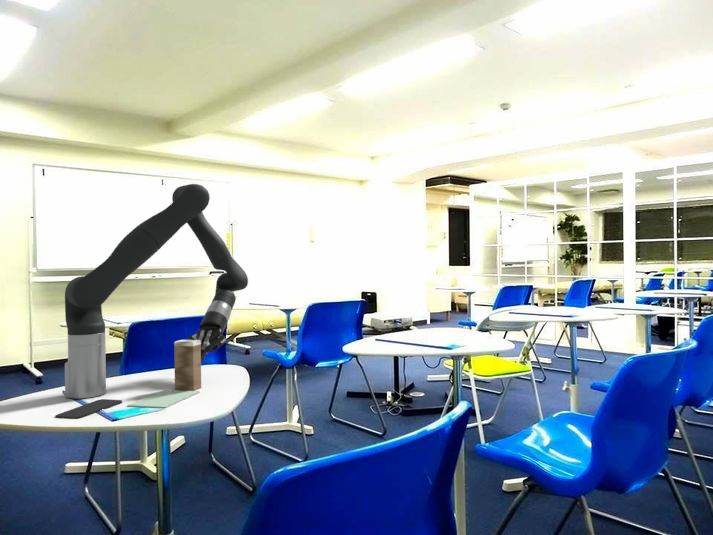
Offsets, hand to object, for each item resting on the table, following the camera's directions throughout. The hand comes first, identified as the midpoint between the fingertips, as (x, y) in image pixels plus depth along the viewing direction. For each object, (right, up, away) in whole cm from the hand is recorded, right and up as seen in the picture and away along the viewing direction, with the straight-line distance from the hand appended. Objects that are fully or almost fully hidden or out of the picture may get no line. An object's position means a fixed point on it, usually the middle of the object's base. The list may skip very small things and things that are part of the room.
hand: (196, 362), depth 145 cm
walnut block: (-1, -7, -5) cm, 9 cm away
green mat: (-3, -7, -16) cm, 17 cm away
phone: (-18, -8, -24) cm, 31 cm away
